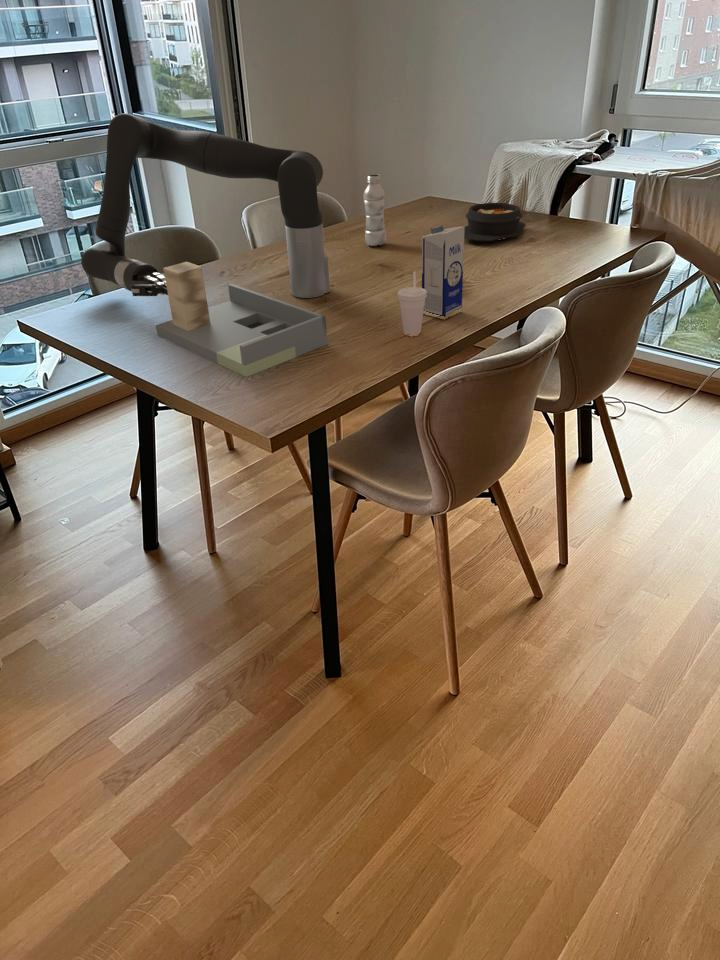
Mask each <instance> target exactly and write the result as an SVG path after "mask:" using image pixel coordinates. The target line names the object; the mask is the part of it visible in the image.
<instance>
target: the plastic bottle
mask: <svg viewBox="0 0 720 960" xmlns="http://www.w3.org/2000/svg"><path fill="white" fill-rule="evenodd" d="M366 179H367V180H366V182H367V186H366V188H365V189H364V191H363V204H364V209H365V232H364V241H365V243H366V245H367V246H369V245H370V247H378V246H377V245H380V246H383V245H384V244H385V243H386V241H387V240H386V239H387V231H386V228H385V227H386V226H385V218H384V213H385V200H386V199H385V198H386V193H385V190H384V188H383V187H382V185H381V184H380V183H381V174H375V173H374V174H368V175H367V177H366ZM382 244H383V245H382Z"/></svg>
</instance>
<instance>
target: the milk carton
mask: <svg viewBox="0 0 720 960" xmlns="http://www.w3.org/2000/svg"><path fill="white" fill-rule="evenodd" d="M464 228H465V226H454V227H450V228H444V226H443V225H437V226H435V227H432V228H430V233H429V234H426V235H423V236H422V237H421V288H423V289H425V290H426V291H427V297H426V298H425V304H424V311H426V312H429V313H432V314H436V315H440V316H444V317H445V316H447V315H449V314H451V313H452V312H454V311H456V310H459V309H461V308H462V309H463V284H464V283H463V282H464V255H465V254H464V253H465V252H464V249H465V238H464Z"/></svg>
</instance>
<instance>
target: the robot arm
mask: <svg viewBox="0 0 720 960" xmlns="http://www.w3.org/2000/svg"><path fill="white" fill-rule="evenodd" d="M136 159H151V160H152V159H153V160H159V161H160V160H161V161H167V162H172V163H176V164H179V165H181V166H184V167H185V168H187V169H191V170H193V171H196V172H200V173H204V174H206V175H207V174H208V175H211V176H217V177H221V178H225V179H227V178H228V179H261V180H262V179H264V180H269V181H273V182H277V185H278V195H279V202H280V203H279V204H280V211H281V214H282V216H283V219H284V226H285V228H284V229H285V238H286V239H285V240H286V247H287V249H286V250H287V258H288V259H287V261H288V272H289V273H288V274H289V281H290V282H289V283H290V285H289V286H290V292H291V294H290V295H292V296H293V297H295V298H301V299H311V298H318V297H322V296H323V295H326V294H327V293H328V292H329V293H331V289H330V287H331V286H330V273H329V270H330V268H329V256H328V254H326V252H325V240H324V239H325V238H324V237H325V236H324V224H323V222H324V221H323V213H322V211H321V209H320V207H319V201H318V200H319V199H318V189H317V187H318V186H319V185H320V184H321V181H322V180H323V175H324V169H323V165H322V163H321V161H320V160H319V159H318V157H316V156H315V155H314V154H312V153H310V152H307V151H304V150H294V149H293V150H292V149H283V148H275V147H269V146H264V145H261V144H257V143H254V142H250V141H247V140H243V139H240V138H235V137H231V136H228V135H224V134H219V133H215V132H209V131H204V130H203V131H202V130H183V129H182V130H179V129H174V128H170V127H166V126H163V125H160V124H157V123H155V122H152V121H150V120H146V119H144V118H142V117H139V116H136V115H133V114H131V113H119V114H117V115H115V116H114V117H113V118H111V120H110V123H109V124H108V128H107V138H106V160H105V171H104V172H105V173H104V182H103V183H104V184H103V192H102V197H101V203H100V208H99V214H98V217H97V223H96V227H95V235H96V236H97V237H98V238H99V239H100V240H102V241H104V242H107V243H108V245H109V250H107V249H102V248H97V247H90V248H88V249H86V250H85V251H84V252H83V254H82V255H81V262H80V263H81V266H82V269H83V271H84V273H86V275H88V276H89V277H92V278H96V279H99V280H103V281H108V282H111V283H113V284H114V285H118V286H120V287H122V288H123V289H125V290H127V291H129V292H131V293H132V296H133V297H157V296H158V295H162V296H164V295H166V296H168V292H167V286H166V281H165V275H164V273H161V272H159V271H158V270H157V268H156V267H154V266H153V265H152V264H149V263H146V262H144V261H140V260H137V259H136V258H135V259H133V258H130V257H126V243H125V241H126V233H127V228H128V225H129V220H130V215H131V191H130V189H131V187H130V184H131V175H132V170H133V166H134V163H135V160H136ZM325 293H326V294H325Z"/></svg>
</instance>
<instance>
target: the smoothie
mask: <svg viewBox="0 0 720 960" xmlns="http://www.w3.org/2000/svg"><path fill="white" fill-rule="evenodd" d="M412 273H413V274H412V275H413V278H412V280H413V281H412V283H413V285H412V286H408V287H403V288H400V289H399V290H398V291H397V295H396V297H397V298H398V299H399V301H398V302H399V307H400V308H399V309H400V315H401V316H400V317H401V321H402V322H401V323H402V329H403V330H402V331H403V334H404V333H406V334H409V335H410V334H411V335H413V334H418V333H420V332H421V333H422V327H423V326H422V325H423V320H424V319H423V318H424V315H423V311H424V304H425V298H426V297H427V291H426V290H425V289H423V288H422V287H417V271H416V270H415V271H413V272H412Z"/></svg>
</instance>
